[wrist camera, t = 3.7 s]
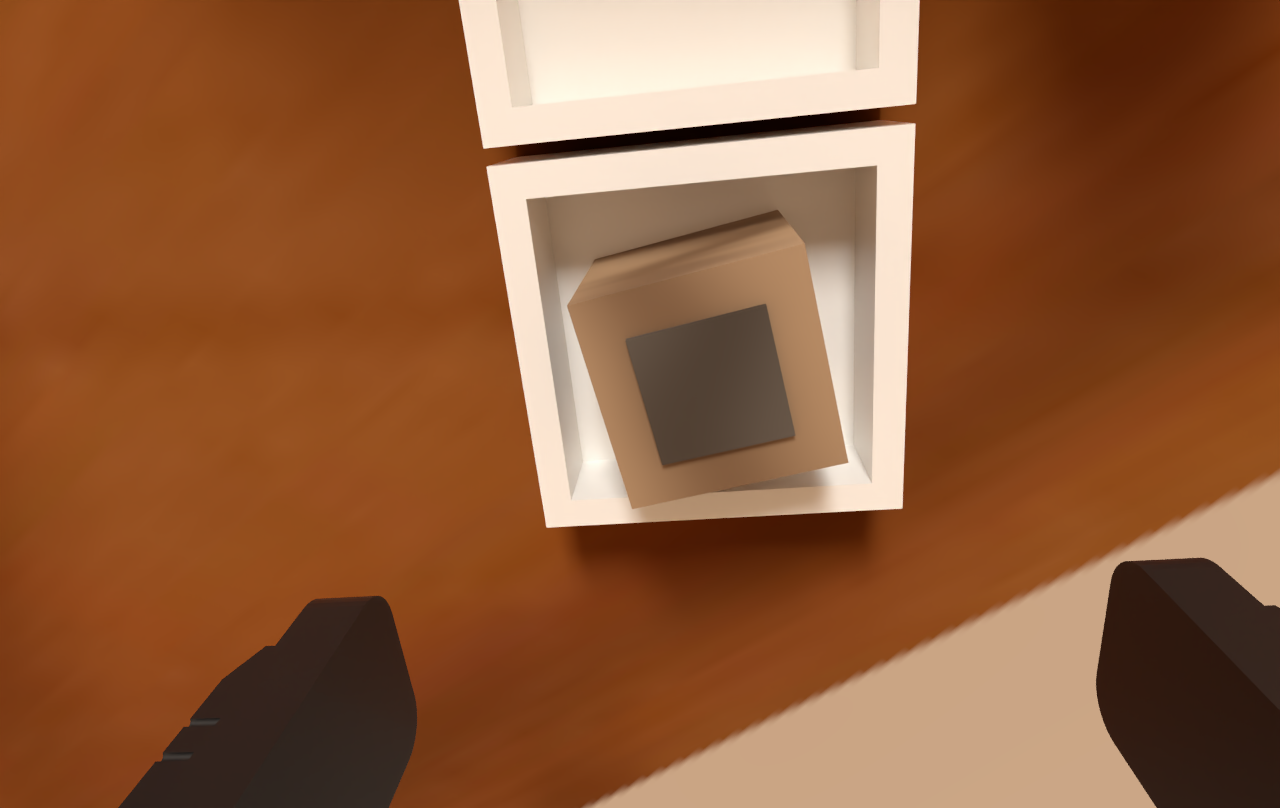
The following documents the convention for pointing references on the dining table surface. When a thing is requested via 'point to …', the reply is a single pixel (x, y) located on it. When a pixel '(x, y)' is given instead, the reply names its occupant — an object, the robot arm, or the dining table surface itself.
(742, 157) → the dish
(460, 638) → the dining table surface
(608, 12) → the dish
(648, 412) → the letter cube
